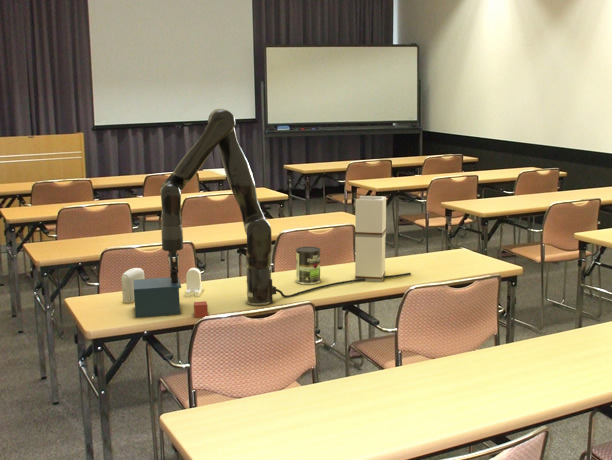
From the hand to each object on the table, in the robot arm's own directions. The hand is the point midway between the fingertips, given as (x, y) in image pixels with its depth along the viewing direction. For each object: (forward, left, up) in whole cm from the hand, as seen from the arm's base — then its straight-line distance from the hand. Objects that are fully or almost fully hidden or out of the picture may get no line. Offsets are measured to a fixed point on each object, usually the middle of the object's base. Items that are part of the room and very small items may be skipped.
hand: (174, 280), depth 279 cm
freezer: (+7, 0, -11) cm, 13 cm away
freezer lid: (+6, 0, -1) cm, 6 cm away
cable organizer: (-8, -20, -11) cm, 24 cm away
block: (-8, +10, -11) cm, 17 cm away
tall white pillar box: (-83, -23, -11) cm, 87 cm away
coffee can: (-56, -25, -11) cm, 63 cm away
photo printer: (+15, -17, -11) cm, 25 cm away
